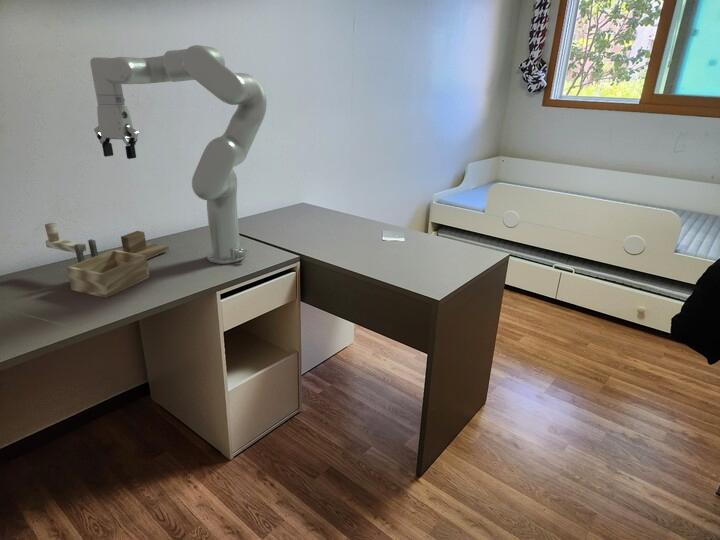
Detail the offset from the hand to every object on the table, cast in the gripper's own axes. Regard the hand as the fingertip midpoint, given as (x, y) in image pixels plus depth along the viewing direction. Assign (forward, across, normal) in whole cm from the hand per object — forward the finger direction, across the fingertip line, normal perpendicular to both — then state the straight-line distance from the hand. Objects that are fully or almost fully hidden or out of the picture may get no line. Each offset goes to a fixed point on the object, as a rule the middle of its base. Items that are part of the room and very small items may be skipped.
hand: (120, 157), depth 151 cm
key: (+24, +1, +24) cm, 34 cm away
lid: (+32, -4, +4) cm, 32 cm away
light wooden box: (+32, -14, +24) cm, 43 cm away
